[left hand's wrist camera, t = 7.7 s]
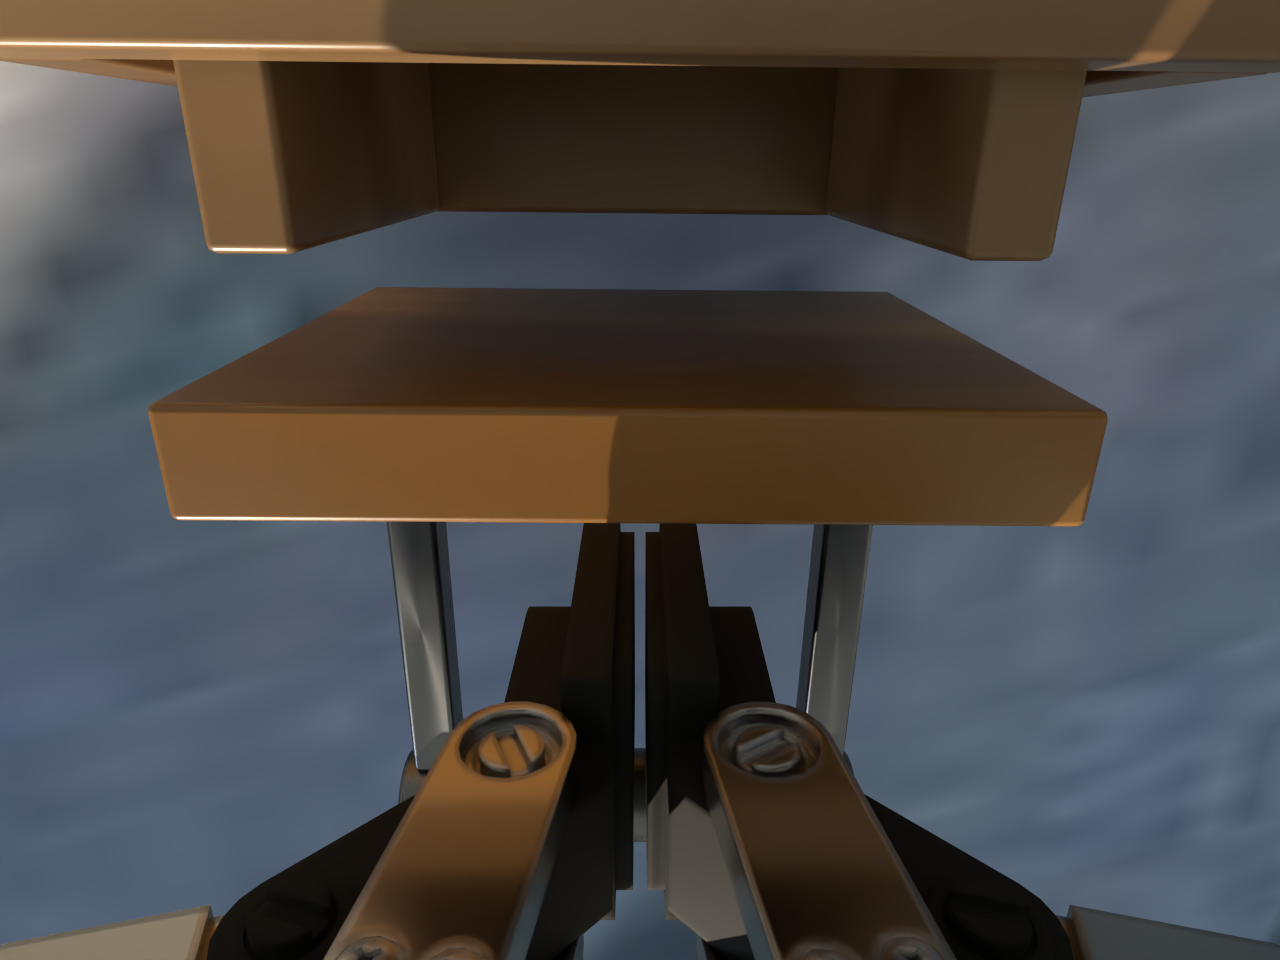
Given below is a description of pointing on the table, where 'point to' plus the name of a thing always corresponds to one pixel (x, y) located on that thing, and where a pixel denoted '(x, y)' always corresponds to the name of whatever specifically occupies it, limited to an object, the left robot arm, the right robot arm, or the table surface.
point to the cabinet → (662, 35)
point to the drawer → (627, 325)
